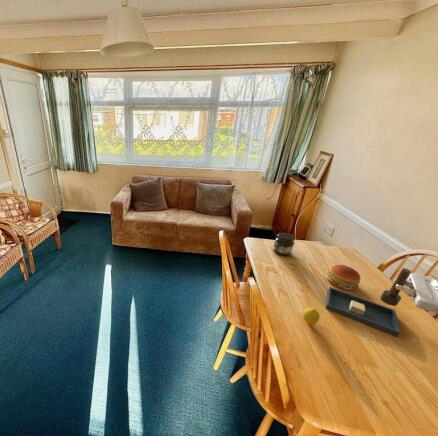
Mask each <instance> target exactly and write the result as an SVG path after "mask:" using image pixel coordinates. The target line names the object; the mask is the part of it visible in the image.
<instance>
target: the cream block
mask: <svg viewBox="0 0 438 436" xmlns="http://www.w3.org/2000/svg"><path fill="white" fill-rule="evenodd" d="M349 311H351V312H354V313H356V314H359V315H362V316H363V314H364V312H365V305H364V304H361V303H358V302H356V301H353V300H352V301H351V303H350V305H349Z"/></svg>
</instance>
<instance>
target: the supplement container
mask: <svg viewBox="0 0 438 436" xmlns="http://www.w3.org/2000/svg"><path fill="white" fill-rule="evenodd" d="M295 240H296V237H295V236H294V235H292V234H291V233H288V232H279V233H278V234H277V235H276V237H275V240H274V243H273V248H272V251H273V252H274V253H275V254H276V253H277V255H278V254H279V256H281V255H282V256H281V257H289V256H291V255H292V253H293V252H292V251H293V249H294V246H295Z"/></svg>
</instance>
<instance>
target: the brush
mask: <svg viewBox="0 0 438 436" xmlns="http://www.w3.org/2000/svg"><path fill="white" fill-rule="evenodd" d="M411 273H412V270H410V269H408V268H403V267H402V268H401V270H400V271H399V273H398V275H397V276H396V278H395V279H396V280H395V279H394V280H395V282H394V281H393V284H392V285H391V287H390V289H389V290H387V289H386V290H383V291H382V293H381V295H380V297H379V299H380V301H382V302H383V303H384V304H386V305H388V306H391V307H396V306H398V305H399V303H400V302H401V300H402V296H401V295H400V292H401V290H398V289H396V284H400V285H403V286H405V285H404V284H405V282H406V280H407V279H408V277H409V276H410V274H411Z"/></svg>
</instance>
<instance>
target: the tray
mask: <svg viewBox="0 0 438 436" xmlns="http://www.w3.org/2000/svg"><path fill="white" fill-rule="evenodd" d="M326 294H327V295H326V301H325V310H328V311H330V312H333V313H337V314H338V315H340V316H344V317H345V318H348V319H351V320H353V321H356V322H358V323H361V324H364V325H365V326H368V327H371V328H373V329H376V330H378V331H381V332H383V333H384V334H385V333H386V334H388V335H391V336H393V337H396V338H399V336H400V334H401V330H400V326H399V321H398V317H397V312H396V310H395V309H393V308H391V307H388V306H384V305H382V304H379V303H376V302H373V301H370V300H368V299H365V298H361V297H359V296H356V295H353V294H351V293H347V292H344V291H341V290H339V289H336V288H333V287H330V286H329V287H328V289H327V293H326ZM352 300H353V301H356V302H358V303H361V304H364V305H365V312H364V314H363V316H362V315H359V314H356V313H354V312H351V311H349V305H350V303H351V301H352Z"/></svg>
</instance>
